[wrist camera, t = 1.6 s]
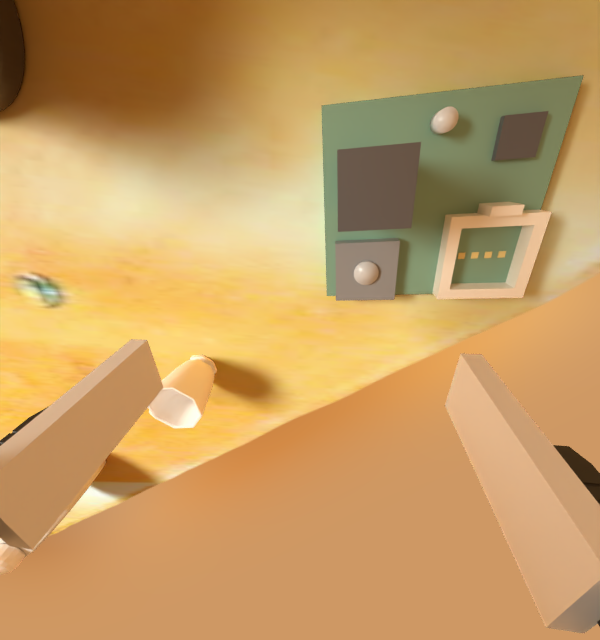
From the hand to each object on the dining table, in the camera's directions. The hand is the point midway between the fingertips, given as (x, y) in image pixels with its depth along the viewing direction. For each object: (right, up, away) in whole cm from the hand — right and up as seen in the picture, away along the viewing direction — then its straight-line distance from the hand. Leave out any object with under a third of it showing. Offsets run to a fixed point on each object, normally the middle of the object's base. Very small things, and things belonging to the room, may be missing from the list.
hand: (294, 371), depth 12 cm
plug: (+6, +15, +13) cm, 20 cm away
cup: (-15, -5, +28) cm, 32 cm away
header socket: (+18, +9, +15) cm, 25 cm away
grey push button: (+9, +8, +17) cm, 21 cm away
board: (+12, +13, +14) cm, 23 cm away
